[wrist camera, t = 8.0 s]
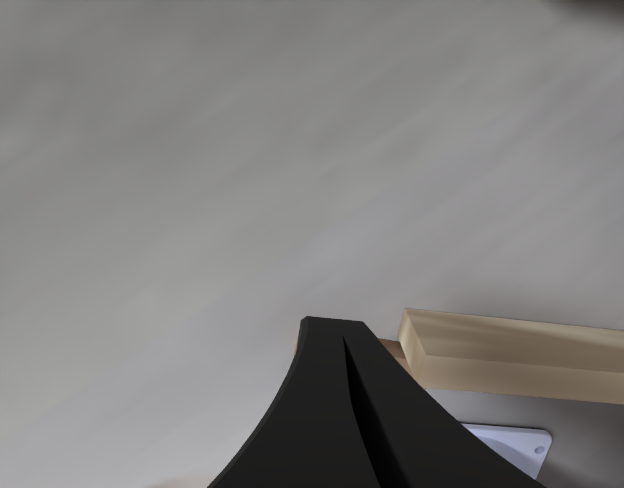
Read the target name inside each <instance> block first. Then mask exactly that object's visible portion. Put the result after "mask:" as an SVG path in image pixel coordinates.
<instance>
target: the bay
mask: <svg viewBox="0 0 624 488" xmlns="http://www.w3.org/2000/svg"><path fill="white" fill-rule="evenodd" d="M398 338H399V341H400V343H401V346H402V349H403V351H404V354H405V356H406V359H407V362H408V364H409V367H410V369H411V372H412V374H413V377H414V380H415V381H416V382H417V383H418V384H419V385H420V386H421V387H425V388H437V389H448V390H460V391H472V392H484V393H496V394H507V395H519V396H531V397H543V398H555V399H566V400H578V401H590V402H602V403H614V404H624V331H621V330H612V329H602V328H592V327H582V326H572V325H563V324H553V323H543V322H533V321H523V320H514V319H504V318H494V317H484V316H474V315H465V314H455V313H445V312H435V311H425V310H416V309H406V308H405V310H404V314H403V318H402V322H401V326H400V330H399V334H398Z"/></svg>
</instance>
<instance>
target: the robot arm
mask: <svg viewBox="0 0 624 488" xmlns="http://www.w3.org/2000/svg"><path fill="white" fill-rule="evenodd" d="M551 443H552V438H551V436H550V434H549V433H548V432H547V431H545V430H538V429H525V428H513V427H500V426H487V425H474V424H461V423H460V422H458V421H457V420H456V419H455V418H454V417H453V416H452V415H450V414H449V413H448V412H447V411H446V410H445V409H444V408H443V407H442V406H441V405H440V404H439V403H438V402H437V401H436V400H435V399H433V398H432V397H431V396H430V395H429V394H428V393H427V392H426V391H425V390H424V389H423V388H422V387H421V386H420V385H419V384H418V383H417V382H416V381H415V380H414V379H413V377H412V376H411V375H410V374H409V373H408V372H407V371H406V370H405V369H404V368H403V367H402V366H401V365H400V363H399V362H398V361H397V360H396V359H395V358H394V357H393V356H392V354H391V353H390V352H389V351H388V350H387V349H386V348H385V346H384V345H383V344H382V343H381V342H380V341H379V339H378V338H377V337H376V336H375V335H374V334H373V332H372V331H371V330H370V329H369V328H368V327H367V326H366V325H365V323H364V322H362V321H352V320H342V319H331V318H321V317H311V316H307V317H305V318H304V319H302V320H301V324H300V330H299V336H298V343H297V349H296V354H295V356H294V359H293V361H292V364H291V366H290V369H289V371H288V373H287V375H286V377H285V379H284V381H283V383H282V385H281V387H280V389H279V391H278V393H277V395H276V396H275V398H274V400H273V402H272V403H271V405H270V407H269V408H268V410H267V412H266V413H265V415H264V416H263V418H262V419H261V421H260V422H259V424H258V425H257V427H256V428H255V430H254V431H253V433H252V434H251V435H250V437H249V438H248V439H247V441H246V442H245V443H244V445H243V446H242V447H241V449H240V450H239V451H238V453H237V454H236V455H235V456H234V457H233V459H232V460H231V461H230V462H229V464H228V465H227V466H226V467H225V468H224V469H223V471H222V472H221V473H220V474H219V475H218V476H217V477H216V478H215V479H214V480H213V481H212V483H211V484H210V485H209V486H208V487H207V488H546V487H545V486H543V485H542V484H540V483H539V482H537V481H536V478H537V475H538V473H539V471H540V468H541V466H542V464H543V461H544V459H545V457H546V454H547V452H548V450H549V448H550V445H551Z"/></svg>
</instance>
